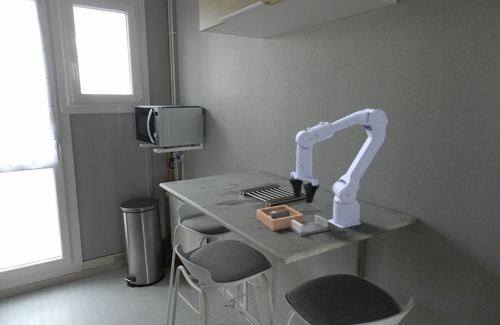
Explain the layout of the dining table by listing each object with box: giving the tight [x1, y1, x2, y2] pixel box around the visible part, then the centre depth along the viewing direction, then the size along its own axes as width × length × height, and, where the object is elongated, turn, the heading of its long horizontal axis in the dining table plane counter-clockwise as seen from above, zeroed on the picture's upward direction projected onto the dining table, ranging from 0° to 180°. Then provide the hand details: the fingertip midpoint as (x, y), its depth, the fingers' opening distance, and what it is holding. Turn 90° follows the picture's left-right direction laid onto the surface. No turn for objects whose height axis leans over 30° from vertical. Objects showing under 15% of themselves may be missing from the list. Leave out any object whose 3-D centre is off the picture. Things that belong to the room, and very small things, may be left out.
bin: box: [256, 204, 304, 232], centre depth 126 cm, size 13×13×4 cm
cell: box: [268, 209, 290, 219], centre depth 126 cm, size 8×4×4 cm, turn 116°
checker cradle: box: [289, 214, 330, 237], centre depth 119 cm, size 12×7×4 cm, turn 116°
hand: (303, 199), depth 123 cm, fingers open, 7 cm apart
